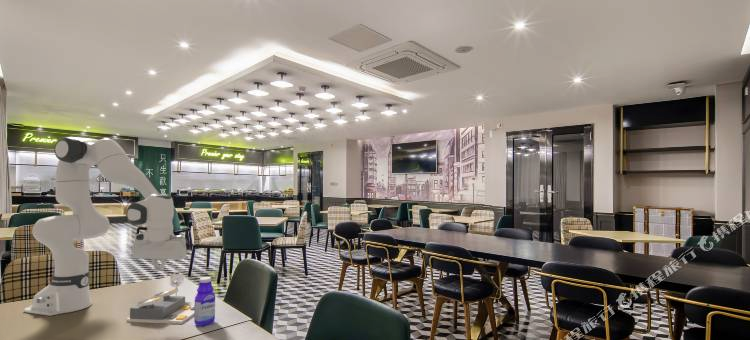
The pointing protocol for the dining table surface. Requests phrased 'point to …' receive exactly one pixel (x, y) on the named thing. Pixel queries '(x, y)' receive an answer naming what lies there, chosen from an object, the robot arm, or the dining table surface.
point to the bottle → (204, 303)
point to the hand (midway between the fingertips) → (159, 270)
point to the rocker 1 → (150, 301)
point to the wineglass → (176, 279)
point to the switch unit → (163, 311)
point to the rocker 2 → (166, 293)
